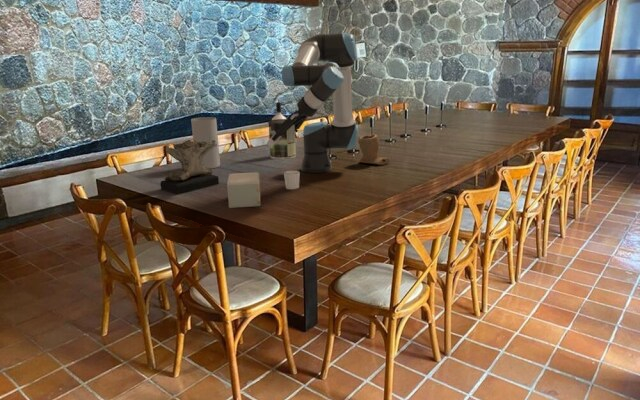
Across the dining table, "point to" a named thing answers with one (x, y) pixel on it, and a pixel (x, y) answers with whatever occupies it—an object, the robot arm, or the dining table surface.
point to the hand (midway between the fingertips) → (275, 142)
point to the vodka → (278, 112)
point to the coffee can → (282, 141)
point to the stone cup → (371, 150)
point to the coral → (190, 168)
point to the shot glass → (292, 179)
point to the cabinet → (243, 190)
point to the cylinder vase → (207, 139)
